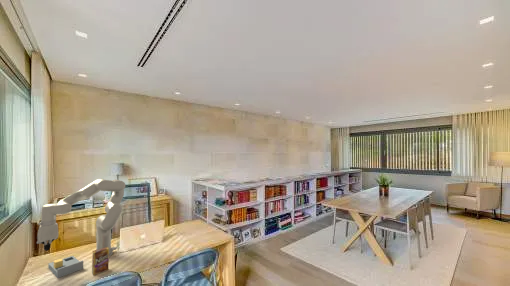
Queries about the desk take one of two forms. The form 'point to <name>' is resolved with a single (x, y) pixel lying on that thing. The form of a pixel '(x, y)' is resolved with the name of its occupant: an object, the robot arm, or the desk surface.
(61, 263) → the block
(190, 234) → the desk surface
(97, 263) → the candy box
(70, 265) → the board
